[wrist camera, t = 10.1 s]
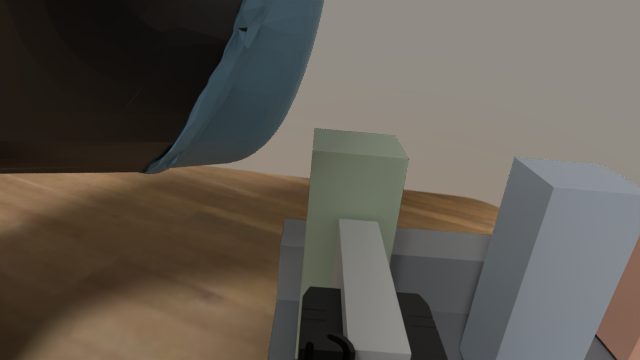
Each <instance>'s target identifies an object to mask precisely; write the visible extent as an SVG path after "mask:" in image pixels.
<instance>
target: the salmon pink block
mask: <svg viewBox="0 0 640 360" xmlns="http://www.w3.org/2000/svg"><path fill="white" fill-rule="evenodd" d="M596 335H597V336H598V337H599V338H600V339H601V341H602V342H603V343H604V344H605V345H606V347H607V348H608V349H609V350H610V351H611V352H612V354H613V355H614V356H615V357H616V358H617V360H640V236H639V238H638V240H637V243H636V245H635V247H634V249H633V251H632V254H631V256H630V258H629V260H628V263H627V265H626V267H625V269H624V272H623V274H622V276H621V278H620V280H619V283H618V285H617V287H616V289H615V292H614V294H613V296H612V298H611V301H610V303H609V305H608V307H607V309H606V312H605V314H604V316H603V318H602V321H601V323H600V325H599V327H598V330H597V332H596Z"/></svg>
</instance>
